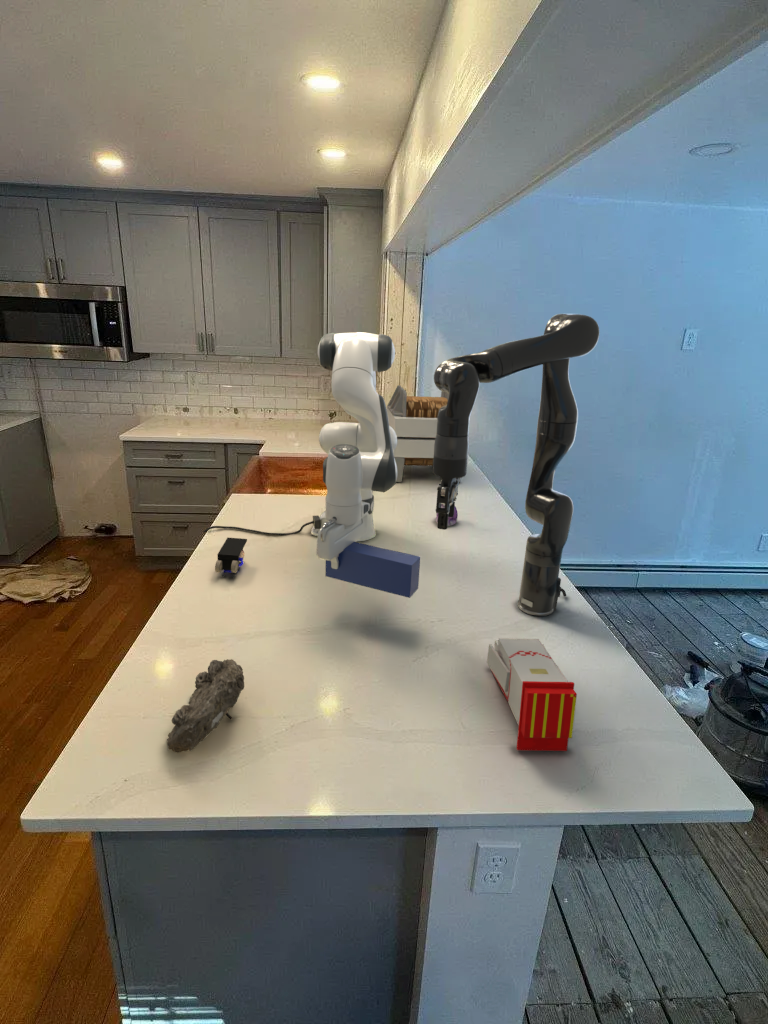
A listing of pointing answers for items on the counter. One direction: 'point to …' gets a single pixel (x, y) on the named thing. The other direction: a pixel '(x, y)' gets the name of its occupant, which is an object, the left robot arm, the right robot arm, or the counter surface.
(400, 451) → the transformer
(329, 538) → the left robot arm
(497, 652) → the toy
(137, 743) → the counter surface
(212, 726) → the fossil
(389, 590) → the block
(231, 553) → the figurine character
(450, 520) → the figurine
